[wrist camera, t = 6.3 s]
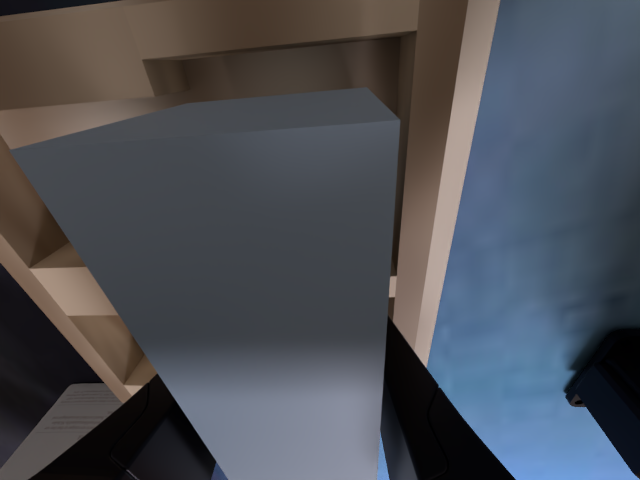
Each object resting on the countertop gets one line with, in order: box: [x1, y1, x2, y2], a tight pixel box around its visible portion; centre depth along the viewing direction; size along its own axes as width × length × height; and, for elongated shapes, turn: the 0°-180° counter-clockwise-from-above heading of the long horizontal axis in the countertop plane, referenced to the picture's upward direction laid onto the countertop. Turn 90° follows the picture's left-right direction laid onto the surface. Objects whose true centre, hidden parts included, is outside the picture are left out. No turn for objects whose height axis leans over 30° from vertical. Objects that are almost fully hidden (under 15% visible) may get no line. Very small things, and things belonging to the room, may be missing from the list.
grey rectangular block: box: [9, 87, 400, 480], centre depth 9 cm, size 4×13×6 cm, turn 5°
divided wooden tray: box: [0, 0, 500, 403], centre depth 12 cm, size 20×18×3 cm
